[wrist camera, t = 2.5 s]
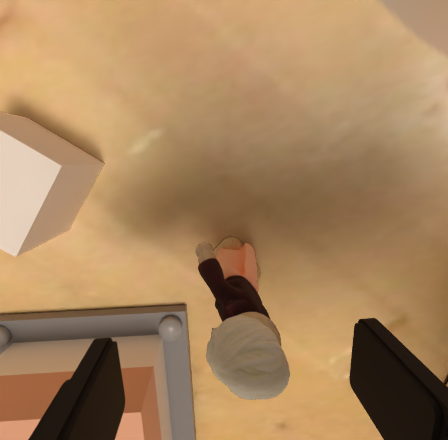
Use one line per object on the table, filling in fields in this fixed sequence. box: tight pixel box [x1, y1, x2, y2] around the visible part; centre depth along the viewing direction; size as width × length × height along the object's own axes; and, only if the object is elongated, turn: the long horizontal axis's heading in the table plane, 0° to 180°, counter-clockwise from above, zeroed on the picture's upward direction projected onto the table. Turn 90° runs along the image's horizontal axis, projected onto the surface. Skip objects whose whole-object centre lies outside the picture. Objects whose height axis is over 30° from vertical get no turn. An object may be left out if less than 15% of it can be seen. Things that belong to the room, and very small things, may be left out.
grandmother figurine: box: [196, 237, 290, 400], centre depth 16 cm, size 8×4×13 cm, turn 44°
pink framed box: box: [0, 305, 196, 440], centre depth 21 cm, size 16×16×8 cm
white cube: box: [0, 112, 104, 257], centre depth 17 cm, size 6×6×6 cm
